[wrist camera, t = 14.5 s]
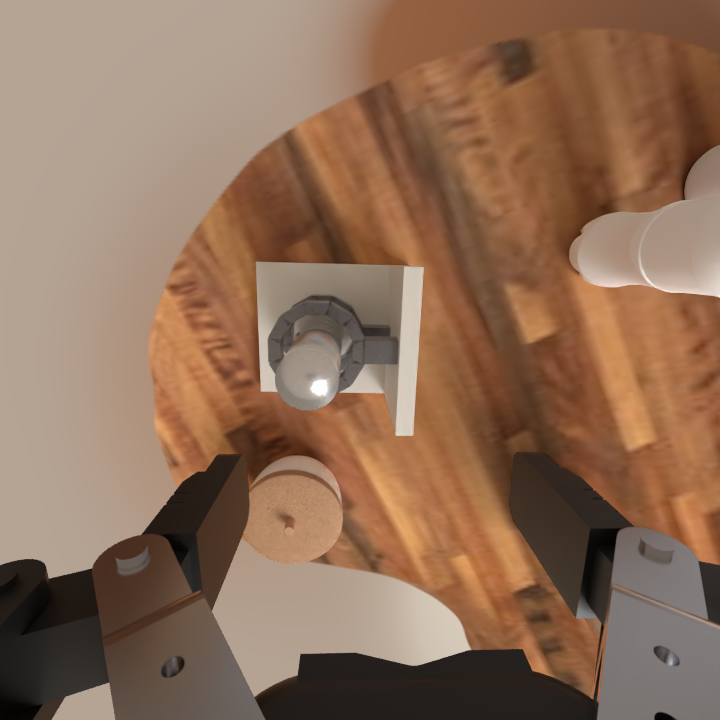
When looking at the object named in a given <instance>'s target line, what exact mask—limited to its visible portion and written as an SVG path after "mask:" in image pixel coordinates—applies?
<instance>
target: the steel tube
mask: <svg viewBox="0 0 720 720" xmlns="http://www.w3.org/2000/svg"><path fill="white" fill-rule="evenodd" d="M342 338H343V326H342V324H340V323H338V322H337V321H335V320H333V319H332V318H330V317H328V316H324V315H314V316H312V317H311V318H310V319H309V321H308V322H307V324H306V325H305V327H304V328H303V330H302V331H301V332H297V334H296V335H295V342H294V343H293V345H292V346H291V348H290V349H289V350H288V352H287V353H286V355H285V356H284V358H283V359H282V361H281V362H280V364H279V365H278V367H277V370H276V374H275V385H276V389H277V391H278V393H279V395H280V397H281V398H282V399H283V400H284V401H285V402H286V403H287V404H288V405H290V406H292V407H294V408H296V409H299V410H306V411H310V410H316V409H319V408H322V407H324V406H325V405H327V404H328V403H329V402H330V401H331V400H332V399H333V398H334V396H335V394H336V392H337V390H338V386H339V374H340V362H341V350H342Z"/></svg>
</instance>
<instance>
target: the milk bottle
mask: <svg viewBox="0 0 720 720" xmlns="http://www.w3.org/2000/svg"><path fill="white" fill-rule="evenodd" d="M714 196H720V145H718V146H715V147H713V148H712V149H710V150H708V151H707V152H706V153H704V154H703V155H702V156H701V157H700V158H699V159H698V160H697V161H696V162H695V164H694V165H693V166H692V168H691V170H690V172H689V174H688V176H687V179H686V182H685V188H684V197H685V200H697V199H703V198H708V197H714Z"/></svg>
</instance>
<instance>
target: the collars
mask: <svg viewBox="0 0 720 720" xmlns="http://www.w3.org/2000/svg"><path fill="white" fill-rule="evenodd" d="M306 315H324V316H328V317H330V318H332V319H333V320H335V321H337V322H338V323H340V324H342V325H343V326H344V327H345V329H346V331H347V333H348V334H349V336H350V338H351V340H352V342H351V344H350V345H349V347H348V348H347V350H346V352H345V353H344V354H343V355H341V362H340V371H342V370H344V371H342V372H340V374H339V386H338V390H337V392H336V394H337V393H339V392H341V391H343V390H345V389H346V388H348V387H350V386H351V385H352V384H353V383H354V381H355V379H356V378H357V376H358V375H359V373H360V372H361V370H362V368H363V367H364V364H392V365H398V345H399V341H398V339H397V338H396V337H390V327H389V325H372V324H362V323H361V321H360V319H359V317H358V315H357V314H356V312H355V310H354V308H353V306H351V305H350V304H349V303H347V302H346V301H344V300H342V299H341V298H339V297H337V296H336V295H334V296H333V294H313V295H310V296H308V297H306V298H304V299H303V300H301V301H299V302H297V303H296V304H294V305H293V306H292V307H291V308H290V309H289V310H287V311H286V312H284V313H283V314H282V315H281V316H280V317H279V318H278V320H277V322H276V324H275V325H274V327H273V329H272V331H271V333H270V334H269V336H268V337H269V338H268V362H270V363H269V365H270V367H271V368H272V370H273V371H274V373H275V374H276V370H277V367H278V365H279V364H280V362H281V361H282V359H283V358H284V356H285V355H284V352H285V353H287V352H288V350H289V349H290V348H291V346H292V345H293V343H294V342H295V341H294V324H295V322H296V321H297V320H299V319H301V318H302V317H304V316H306Z"/></svg>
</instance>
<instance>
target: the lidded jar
mask: <svg viewBox="0 0 720 720" xmlns="http://www.w3.org/2000/svg"><path fill="white" fill-rule="evenodd" d="M249 501H250V508H249V517H248V522H247V525H246V527H245V530H244V532H243V534H244V536H245V538H246V540H247V541H248V543H249V544H250V545H251V546H252V547H253V548H254V549H255V550H256V551H257V552H259V553H260V554H262V555H263V556H265V557H267V558H269V559H271V560H274V561H278V562H283V563H301V562H306V561H309V560H313V559H315V558H317V557H319V556H321V555H322V554H324V553H325V552H327V551H328V550H329V549H330V548H331V547H332V546H333V545H334V543H335V542H336V541H337V539H338V537H339V535H340V532H341V529H342V523H343V510H342V500H341V494H340V489H339V486H338V484H337V481H336V479H335V477H334V475H333V474H332V472H331V471H330V470H329V469H328V468H327V467H326V466H325V465H324V464H322V463H321V462H319V461H318V460H316V459H313V458H311V457H307V456H301V455H292V456H286V457H283V458H280V459H278V460H276V461H274V462H272V463H271V464H270V465H268V466H267V467H266V468H265V469H264V470H263V471H262V472H261V473H260V474H259V475H258V476H257V478H256V479H255V481H254V482H253V484H252V486H251V488H250V490H249Z"/></svg>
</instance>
